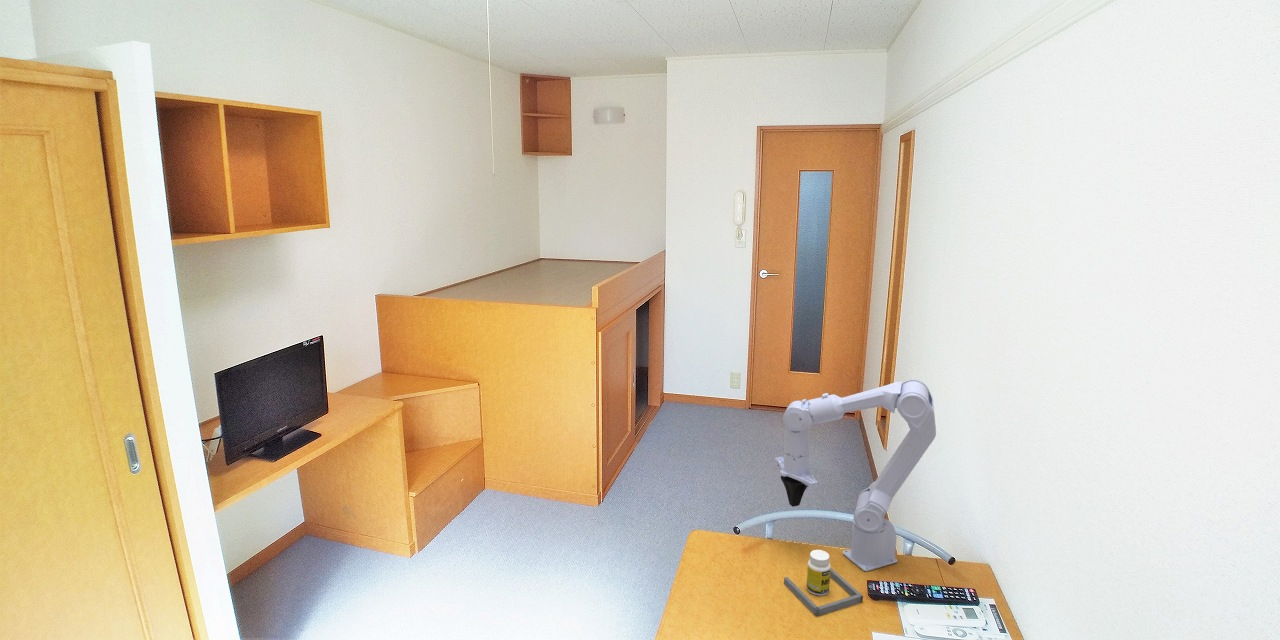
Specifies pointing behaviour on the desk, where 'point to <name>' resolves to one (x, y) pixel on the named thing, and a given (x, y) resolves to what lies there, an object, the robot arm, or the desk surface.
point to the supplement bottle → (818, 573)
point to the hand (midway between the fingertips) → (794, 504)
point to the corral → (832, 606)
